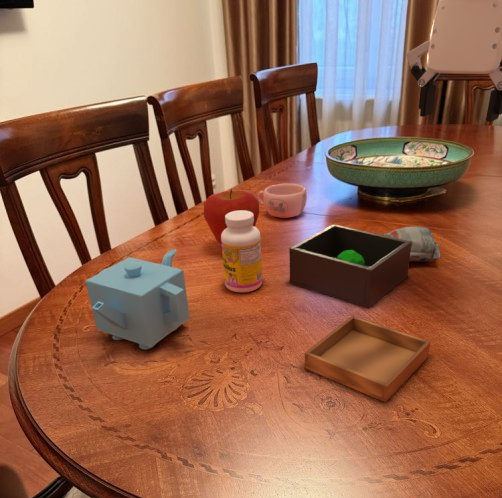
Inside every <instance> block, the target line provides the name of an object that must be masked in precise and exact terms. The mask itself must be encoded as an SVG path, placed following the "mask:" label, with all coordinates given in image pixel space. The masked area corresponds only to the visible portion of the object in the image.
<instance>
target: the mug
mask: <svg viewBox="0 0 502 498" xmlns="http://www.w3.org/2000/svg"><path fill="white" fill-rule="evenodd" d="M307 193H308V192H307V189H306V188H305V186H303V185H301V184H297V183H277V184H272V185H269V186H267V187H266V188H265V189H264V190H259V191H258V193H257V196H256V197H257V198H258V199H259V205H261V206H264V207H265V209H266V210H265V211H266V212H267V213H268V214H269V215H270V216H272V217H275V218H282V219H283V218H284V219H285V218H286V219H287V218H293V217H297V216H299V215H301V214H302V213H303V211H304V209H305V207H306V205H307V200H308V195H307ZM262 196H263V197H262ZM262 199H263V201H262Z"/></svg>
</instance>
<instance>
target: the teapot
mask: <svg viewBox="0 0 502 498" xmlns="http://www.w3.org/2000/svg"><path fill="white" fill-rule="evenodd" d="M177 252H178V250H177V249H176V248H174V249H170V250H168V251H167V252H166V253H165V254H164V255H163V258H162V260H161V263H157V262H153V261H148V260H143V259H140V258H134V257H127V258H125V259H122V260H120V261H119V262H117V263H115V264H113V265H112V266H110V267H108V268H103V269H102V270H101V271H99V273H97V274H94V275H93V276H91V277H89V278H87V279H86V280H84V283H85V287H86V290H87V291H86V292H87V294H88V299H89V302H90V306H91V311H92V315H93V320H94V322H95V327H96V330H97V331H100V332H103V333H106V334H109V335H112V336H111V338H112V340H115V341H120V340H127V341H129V342H132V343H135V344H138V348H139V349H141V350H150V349H152V348H154V347H155V346H156V344H158V343H159V342H160V341H162V340H163V339H164V338H166V337H167V336H168V335H170V334H171V333H172V332H175V331H176V330H177V329H178V328H179V327H181V326H182V325H183V324H184V323H186V322H187V321H189V320H190V318H191V317H190V309H189V302H188V295H187V287H186V280H185V279H186V278H185V273H184V270H183V269H182V268H178V267H174V266H172V265H173V259H174V257H175V255H176V254H177Z"/></svg>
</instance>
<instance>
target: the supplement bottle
mask: <svg viewBox="0 0 502 498" xmlns="http://www.w3.org/2000/svg"><path fill="white" fill-rule="evenodd" d="M253 222H254V215H253V213H252V212H250V211H244V210H240V211H233V212H230V213H228V214H226V215H225V223H226V225H227V228H226V229H225V230H224V231H223V232H222V234H221V243H222V245H221V251H222V252H221V254H222V264H223V265H222V266H223V278H224V279H223V280H224V285H225V287H226V288H227V289H228V290H230V291H231V292H235V293H249V292H253V291H255V290H257V289H259V288H260V287H261V286H262V284H263V264H262V263H263V262H262V240H261V239H262V238H261V232H260V230H259V228H257V227H256V226H255V227H254V226H253Z"/></svg>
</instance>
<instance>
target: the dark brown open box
mask: <svg viewBox="0 0 502 498" xmlns="http://www.w3.org/2000/svg"><path fill="white" fill-rule="evenodd" d="M411 244H412V242H410V241H406V240H401V239H397V238H393V237H388V236H384V234H379V233H374V232H370V231H365V230H361V229H356V228H352V227H347V226H342V225H338V224H335V223H333V224H331V225H329V226H327V227H325V228H324V229H322V230H320V231H318V232H316V233H315V234H313V235H311V236H309V237H307V238H305V239H303V240H302V241H300V242H298V243H297V244H295V245H292V246H291V247H289V248H288V249H289V251H288V252H289V254H288V255H289V284H291V285H294V286H298V287H301V288H304V289H307V290H310V291H313V292H317V293H320V294H323V295H327V296H329V297H333V298H335V299H338V300H341V301H345V302H347V303H351V304H354V305H358V306H361V307H364V308H366V309H369V308H371V307H372V306H373V305H374V304H375V303H377V302H378V301H379V300H381V299H382V298H383V297H384V296H386V295H387V294H388V293H390V292H391V291H392V290H393V289H395V288H396V287H397V286H398V285H399V284H401V283H402V282H404V280H405V279H407V278H408V276H409V268H410V261H409V260H410V252H411ZM346 250H353V251H355V252H357V253H358V254H360V255H361V256H362V257H363V259H364V266H362V265H358V264H354V263H351V262H347V261H343V260H339V259H337V257H338V255H339V254H341V253H342V252H343V251H346Z"/></svg>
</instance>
